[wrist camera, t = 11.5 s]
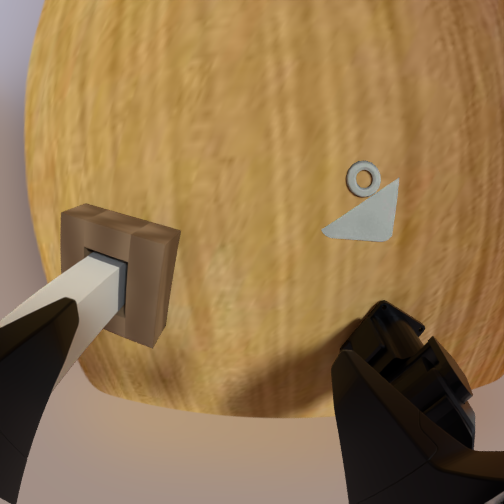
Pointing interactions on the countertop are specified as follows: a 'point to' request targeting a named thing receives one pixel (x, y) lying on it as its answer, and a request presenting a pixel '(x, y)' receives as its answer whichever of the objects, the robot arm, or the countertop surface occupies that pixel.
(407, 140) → the countertop surface
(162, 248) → the post base
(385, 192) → the grey triangular pendant
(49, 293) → the rail post
